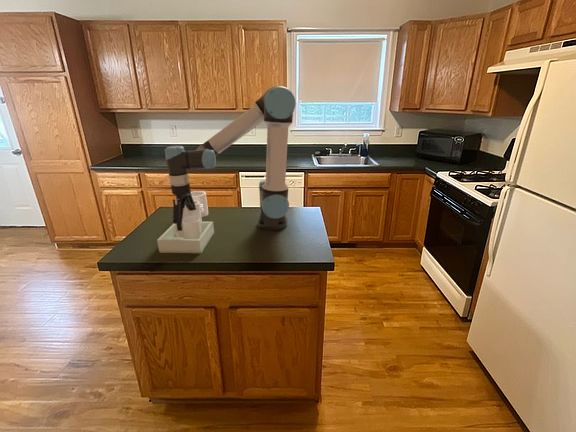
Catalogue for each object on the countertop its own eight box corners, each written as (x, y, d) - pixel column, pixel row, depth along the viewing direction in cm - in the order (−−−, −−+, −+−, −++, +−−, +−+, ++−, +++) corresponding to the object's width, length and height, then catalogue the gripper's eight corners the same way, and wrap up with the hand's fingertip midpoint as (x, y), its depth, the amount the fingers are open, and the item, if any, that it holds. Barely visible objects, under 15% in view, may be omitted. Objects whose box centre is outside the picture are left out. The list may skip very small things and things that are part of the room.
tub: (214, 233, 148) (213, 221, 146) (201, 253, 129) (199, 240, 127) (177, 232, 149) (175, 221, 147) (159, 252, 130) (157, 239, 128)
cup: (200, 244, 135) (197, 223, 132) (172, 244, 135) (168, 223, 131) (204, 236, 143) (201, 215, 139) (178, 236, 143) (175, 216, 139)
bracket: (202, 228, 153) (199, 205, 149) (182, 229, 153) (178, 206, 148) (209, 210, 177) (207, 190, 172) (192, 211, 176) (189, 191, 171)
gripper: (182, 176, 141) (189, 219, 149) (158, 193, 118) (167, 242, 126) (198, 176, 140) (204, 218, 148) (177, 192, 117) (185, 242, 125)
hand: (187, 230), depth 137 cm, fingers open, 13 cm apart
